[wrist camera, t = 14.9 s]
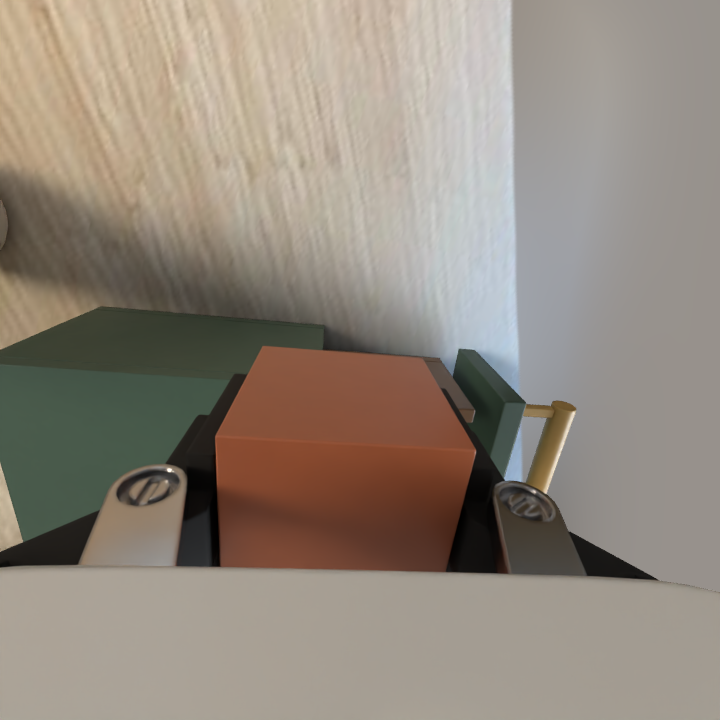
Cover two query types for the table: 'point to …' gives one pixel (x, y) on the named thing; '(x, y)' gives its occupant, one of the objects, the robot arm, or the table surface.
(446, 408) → the block
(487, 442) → the drawer
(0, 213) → the silver metal bottle
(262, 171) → the table surface
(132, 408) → the cabinet
